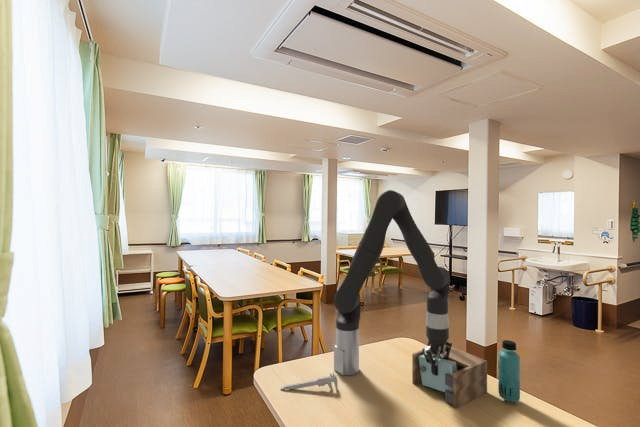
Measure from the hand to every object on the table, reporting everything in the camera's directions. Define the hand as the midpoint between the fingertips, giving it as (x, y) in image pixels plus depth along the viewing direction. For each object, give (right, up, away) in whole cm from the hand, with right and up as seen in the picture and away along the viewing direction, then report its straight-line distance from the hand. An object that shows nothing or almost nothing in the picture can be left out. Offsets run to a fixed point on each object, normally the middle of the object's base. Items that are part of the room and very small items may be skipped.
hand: (437, 373), depth 112 cm
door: (+1, -5, -1) cm, 5 cm away
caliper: (-45, -7, +2) cm, 46 cm away
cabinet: (+5, -7, +3) cm, 9 cm away
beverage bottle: (+22, -7, -5) cm, 24 cm away
